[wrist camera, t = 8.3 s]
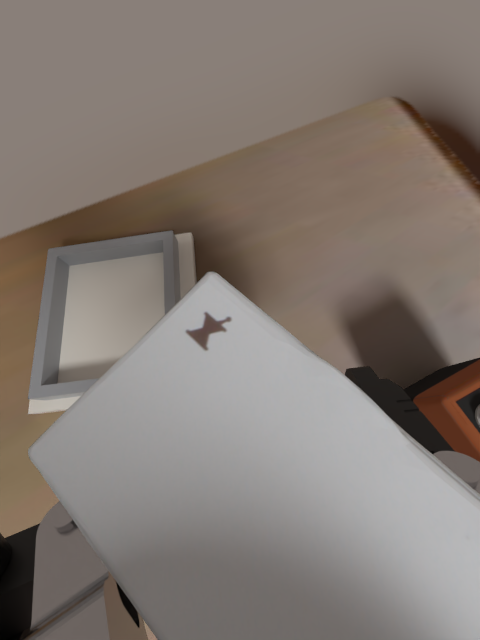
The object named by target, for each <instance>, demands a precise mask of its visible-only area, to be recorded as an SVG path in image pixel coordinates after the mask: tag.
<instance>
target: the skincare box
mask: <svg viewBox="0 0 480 640" xmlns="http://www.w3.org/2000/svg"><path fill="white" fill-rule="evenodd" d="M28 454H29V458H30V460H31V461H32V462H33V464H34V465H35V466H36V467H37V469H38V470H39V471H40V473H41V474H42V476H43V477H44V479H45V480H46V482H47V483H48V485H49V486H50V488H51V489H52V490H53V492H54V493H55V495H56V496H57V498H58V499H59V500H60V502H61V503H62V505H63V506H64V508H65V509H66V510H67V512H68V513H69V515H70V516H71V518H72V519H73V520H74V522H75V523H76V525H77V526H78V528H79V529H80V531H81V532H82V534H83V535H84V537H85V538H86V540H87V541H88V542H89V544H90V545H91V547H92V548H93V549H94V551H95V552H96V554H97V555H98V556H99V558H100V559H101V561H102V562H103V563H104V565H105V566H106V568H107V569H108V571H109V572H110V573H111V575H112V576H113V578H114V579H115V580H116V582H117V583H118V585H119V586H120V587H121V589H122V590H123V592H124V593H125V594H126V596H127V597H128V599H129V600H130V601H131V603H132V604H133V606H134V607H135V608H136V610H137V611H138V613H139V614H140V615H141V617H142V618H143V620H144V621H145V622H146V624H147V625H148V626H149V628H150V629H151V631H152V632H153V633H154V635H155V636H156V638H157V639H158V640H480V494H479V493H477V492H476V491H475V490H474V489H473V488H471V487H470V486H469V485H468V484H467V483H465V482H464V481H463V480H462V479H461V478H460V477H458V476H457V475H456V474H455V473H454V472H452V471H451V470H450V469H449V468H448V467H446V466H445V465H444V464H443V463H442V462H441V461H440V460H438V459H437V458H436V457H435V456H434V455H433V454H431V453H430V452H429V451H428V450H427V449H425V448H424V447H423V446H422V445H421V444H419V443H418V442H417V441H416V440H415V439H414V438H412V437H411V436H410V435H409V434H408V433H407V432H405V431H404V430H403V429H402V428H401V427H400V426H399V425H398V424H396V423H395V422H394V421H393V420H392V419H391V418H390V417H389V416H388V415H387V414H386V413H385V412H384V411H383V410H382V409H381V408H380V407H379V406H378V405H377V404H376V403H375V402H374V401H373V400H372V399H371V398H370V397H369V396H368V395H367V394H366V393H364V392H363V391H362V390H361V389H360V388H359V387H358V386H357V385H355V384H354V383H353V382H352V381H351V380H350V379H349V378H347V377H346V376H345V375H344V374H343V373H341V372H340V371H339V370H338V369H337V368H335V367H334V366H332V365H331V364H329V363H328V362H326V361H325V360H323V359H322V358H320V357H319V356H318V355H316V354H315V353H314V352H313V351H311V350H310V349H309V348H307V347H306V346H305V345H304V344H302V343H301V342H300V341H299V340H298V339H296V338H295V337H294V336H293V335H292V334H290V333H289V332H288V331H287V330H286V329H284V328H283V327H282V326H281V325H280V324H278V323H277V322H276V321H275V320H274V319H272V318H271V317H270V316H269V315H267V314H266V313H265V312H264V311H263V310H261V309H260V308H259V307H258V306H256V305H255V304H254V303H253V302H251V301H250V300H249V299H248V298H247V297H245V296H244V295H243V294H242V293H241V292H239V291H238V290H237V289H236V288H234V287H233V286H232V285H231V284H230V283H228V282H227V281H226V280H225V279H224V278H222V277H221V276H220V275H219V274H217V273H216V272H207V273H206V274H205V275H204V276H203V277H202V278H201V279H200V280H199V281H198V282H197V283H196V284H195V285H194V286H193V287H192V288H191V289H190V290H189V291H188V292H187V293H186V294H185V295H184V296H183V297H182V298H181V299H180V300H179V301H178V302H177V303H176V304H175V305H174V306H173V307H172V308H171V309H170V310H169V311H168V312H167V313H166V314H165V315H164V316H163V317H162V318H161V319H160V320H159V321H158V322H157V323H156V324H155V325H154V326H153V327H152V328H151V329H150V330H149V331H148V332H147V333H146V334H145V335H144V336H143V337H142V338H141V339H140V340H139V341H138V342H137V343H136V344H135V345H134V346H133V347H132V348H131V349H130V350H129V351H128V352H127V353H126V354H125V355H124V356H123V357H121V358H120V359H119V360H118V361H117V362H116V363H115V364H114V365H113V366H112V367H111V368H110V369H109V370H108V371H107V372H106V373H105V374H104V375H103V376H102V377H101V378H100V379H99V380H97V381H96V382H95V383H94V384H93V385H92V386H91V387H90V388H89V389H88V390H87V391H86V392H85V393H84V394H83V395H82V396H81V397H80V398H79V399H77V400H76V401H75V402H74V403H73V404H72V405H71V406H70V407H69V408H68V409H67V410H66V411H65V412H64V413H63V414H62V415H61V416H60V417H59V418H58V419H57V420H56V421H55V422H54V423H53V424H52V425H51V426H50V427H49V428H48V429H47V430H46V431H45V432H44V433H43V434H42V435H41V436H40V437H39V438H38V439H37V440H36V441H35V442H34V443H33V444H32V445H31V446H30V447H29V450H28Z"/></svg>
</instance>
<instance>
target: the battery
mask: <svg viewBox="0 0 480 640" xmlns="http://www.w3.org/2000/svg"><path fill="white" fill-rule="evenodd" d="M404 391H405V393H406V394H407V395H408V396H409V397H410V399H411V401H413V402H414V403H415V404H416V406H417V407H418V408H419V411H421V412H422V413H423V414H424V415H425V416H426V418H427V419H428V420H429V421H430V422H431V423H432V425H433V426H434V427H435V428H436V429H437V431H438V432H439V433H440V434H441V435H442V437H443V438H444V439H445V440H446V441H447V442H448V444H449V445H450V446H451V447H452V448H453V450H454V451H455V452H459V453H462V454H465V455H467V456H469V457H472V458H473V459H475V460H477V461H479V462H480V358H477V359H473V360H470V361H466V362H462V363H459V364H455V365H452V366H448V367H445V368H442V369H440V370H438V371H436V372H434V373H432V374H431V375H429V376H427V377H425V378H424V379H422V380H420V381H418V382H417V383H415V384H413V385H411V386H410V387H408V388H406V389H404Z"/></svg>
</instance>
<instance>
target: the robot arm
mask: <svg viewBox="0 0 480 640" xmlns="http://www.w3.org/2000/svg"><path fill="white" fill-rule="evenodd" d="M345 376H346V377H347V378H349V379H350V380H351V381H352V382H353V383H354V384H355V385H357V386H358V387H359V388H360V389H361V390H362V391H363V392H364V393H366V394H367V395H368V396H369V397H370V398H371V399H372V400H373V401H374V402H375V403H376V404H377V405H378V406H379V407H380V408H381V409H382V410H383V411H384V412H385V413H386V414H387V415H388V416H389V417H390V418H391V419H392V420H393V421H394V422H395V423H396V424H398V425H399V426H400V427H401V428H402V429H403V430H404V431H405V432H407V433H408V434H409V435H410V436H411V437H412V438H414V439H415V440H416V441H417V442H418V443H419V444H421V445H422V446H423V447H424V448H425V449H427V450H428V451H429V452H430V453H431V454H433V455H434V456H435V457H436V458H437V459H438V460H440V461H441V462H442V463H443V464H444V465H445V466H446V467H448V468H449V469H450V470H451V471H452V472H454V473H455V474H456V475H457V476H458V477H460V478H461V479H462V480H463V481H464V482H465V483H467V484H468V485H469V486H470V487H471V488H473V489H474V490H475V491H476V492H477V493H479V494H480V462H479V461H477V460H475V459H473V458H472V457H469V456H467V455H465V454H462V453H459V452H455V451H454V450H453V448H452V447H451V446H450V445H449V444H448V442H447V441H446V440H445V439H444V438H443V437H442V435H441V434H440V433H439V432H438V431H437V429H436V428H435V427H434V426H433V425H432V423H431V422H430V421H429V420H428V419H427V418H426V416H425V415H424V414H423V413H422V412H421V411H419V408H418V407H417V406H416V404H415V403H414V402H413V401H411V399H410V397H409V396H408V395H407V394H406V393H405V391H404V390H403V389H402V388H401V387H400V386H398V385H396V384H395V383H393V382H392V381H390V380H388V379H381V380H380V379H379V378H378V377H377V375H376V374H375V373H374V371H373V370H372V369H371V368H370V367H369V366H366V367H358V368H349V369H346V372H345ZM0 640H148V637H147V634H146V630H145V626H144V621H143V618H142V617H141V615H140V614H139V613H138V611H137V610H136V608H135V607H134V606H133V604H132V603H131V601H130V600H129V599H128V597H127V596H126V594H125V593H124V592H123V590H122V589H121V587H120V586H119V585H118V583H117V582H116V580H115V579H114V578H113V576H112V575H111V573H110V572H109V571H108V569H107V568H106V566H105V565H104V563H103V562H102V561H101V559H100V558H99V556H98V555H97V554H96V552H95V551H94V549H93V548H92V547H91V545H90V544H89V542H88V541H87V540H86V538H85V537H84V535H83V534H82V532H81V531H80V529H79V528H78V526H77V525H76V523H75V522H74V520H73V519H72V518H71V516H70V515H69V513H68V512H67V510H66V509H65V508H64V506H63V505H62V503H61V502H60V501H59V502H58V503H57V504H56V505H54V506H53V507H52V508H51V509H50V510H49V512H48V513H47V514H46V515H45V517H44V518H43V520H42V521H41V523H40V524H38V525H35V526H33V527H30V528H28V529H26V530H23V531H21V532H18V533H16V534H14V535H11V536H9V537H7V538H4V537H3V536H2V535H1V533H0Z"/></svg>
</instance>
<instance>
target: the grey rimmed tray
mask: <svg viewBox="0 0 480 640" xmlns="http://www.w3.org/2000/svg"><path fill="white" fill-rule="evenodd" d="M196 283H197V281H196V266H195V251H194V238H193V235H192V233H191V232H190V233H183V234H176V235H174V233H173V231H172V230H171V231H165V232H158V233H151V234H145V235H138V236H131V237H125V238H118V239H111V240H104V241H98V242H91V243H84V244H78V245H71V246H64V247H57V248H51V249H48V256H47V263H46V270H45V278H44V285H43V292H42V300H41V307H40V314H39V322H38V329H37V336H36V344H35V351H34V358H33V366H32V373H31V380H30V388H29V395H28V399H30V403H29V410H28V414H41V413H49V412H57V411H65V410H67V409H68V408H69V407H70V406H71V405H72V404H73V403H74V402H75V401H76V400H77V399H79V398H80V397H81V396H82V395H83V394H84V393H85V392H86V391H87V390H88V389H89V388H90V387H91V386H92V385H93V384H94V383H95V382H96V381H97V380H99V379H100V378H101V377H102V376H103V375H104V374H105V373H106V372H107V371H108V370H109V369H110V368H111V367H112V366H113V365H114V364H115V363H116V362H117V361H118V360H119V359H120V358H121V357H123V356H124V355H125V354H126V353H127V352H128V351H129V350H130V349H131V348H132V347H133V346H134V345H135V344H136V343H137V342H138V341H139V340H140V339H141V338H142V337H143V336H144V335H145V334H146V333H147V332H148V331H149V330H150V329H151V328H152V327H153V326H154V325H155V324H156V323H157V322H158V321H159V320H160V319H161V318H162V317H163V316H164V315H165V314H166V313H167V312H168V311H169V310H170V309H171V308H172V307H173V306H174V305H175V304H176V303H177V302H178V301H179V300H180V299H181V298H182V297H183V296H184V295H185V294H186V293H187V292H188V291H189V290H190V289H191V288H192V287H193V286H194V285H195V284H196Z"/></svg>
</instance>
